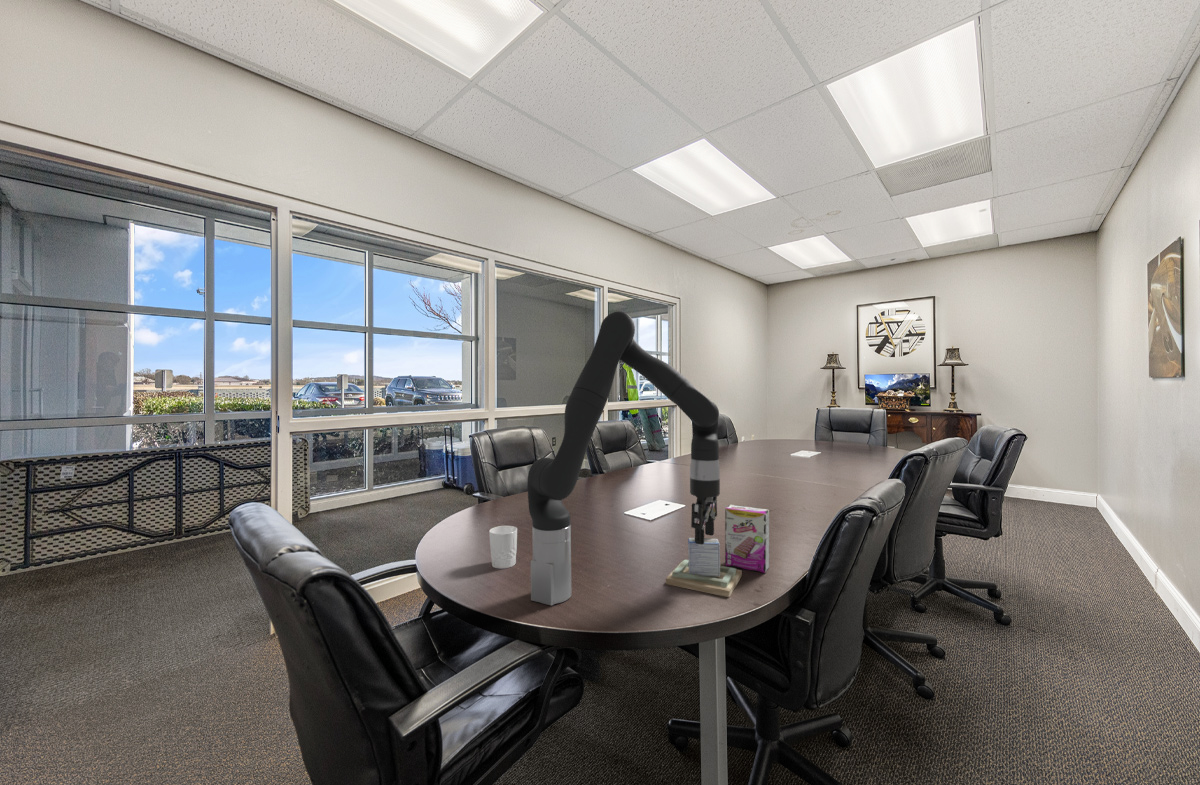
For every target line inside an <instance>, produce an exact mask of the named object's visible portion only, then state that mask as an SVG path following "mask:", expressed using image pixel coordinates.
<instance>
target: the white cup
mask: <svg viewBox="0 0 1200 785" xmlns="http://www.w3.org/2000/svg"><path fill="white" fill-rule="evenodd" d="M488 535H489V548H490V549H489V550H490V557H491V558H490V559H491V566H492V567H493V568H495V569H500V570H501V569H502V570H503V569H509V568H512V567H514V566H515V564H517V559H516V558H517V546H518V527H517V526H513V525H499V526H495V527H492V528H490V529H489V532H488Z"/></svg>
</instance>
